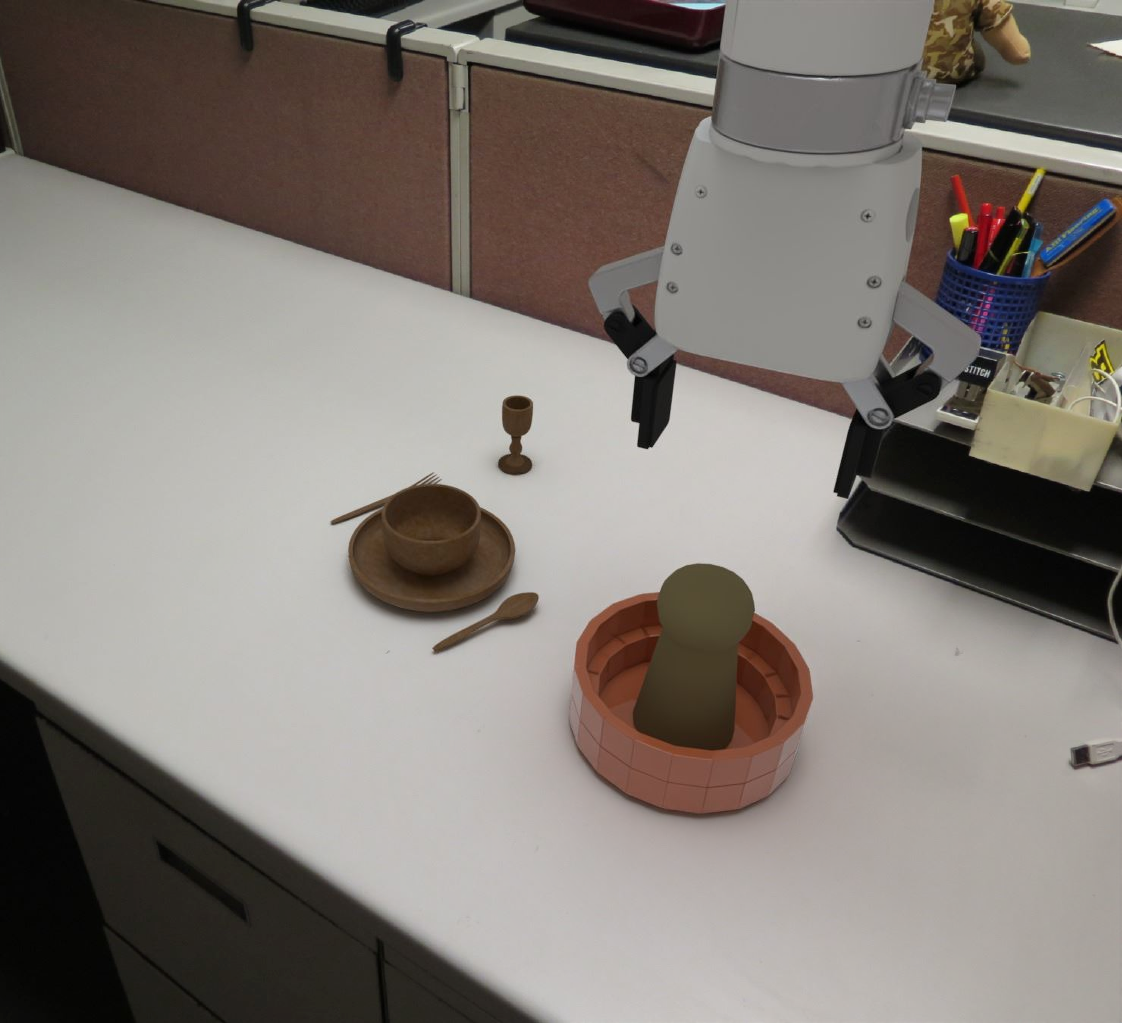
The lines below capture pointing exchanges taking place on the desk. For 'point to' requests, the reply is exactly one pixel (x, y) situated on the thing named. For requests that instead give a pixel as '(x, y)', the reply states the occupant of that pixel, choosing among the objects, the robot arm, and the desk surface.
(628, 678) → the bowl
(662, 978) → the desk surface
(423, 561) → the place setting
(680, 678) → the cork
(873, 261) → the robot arm
